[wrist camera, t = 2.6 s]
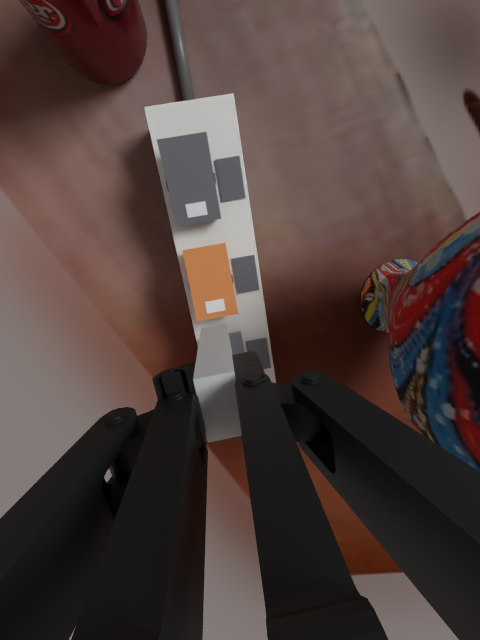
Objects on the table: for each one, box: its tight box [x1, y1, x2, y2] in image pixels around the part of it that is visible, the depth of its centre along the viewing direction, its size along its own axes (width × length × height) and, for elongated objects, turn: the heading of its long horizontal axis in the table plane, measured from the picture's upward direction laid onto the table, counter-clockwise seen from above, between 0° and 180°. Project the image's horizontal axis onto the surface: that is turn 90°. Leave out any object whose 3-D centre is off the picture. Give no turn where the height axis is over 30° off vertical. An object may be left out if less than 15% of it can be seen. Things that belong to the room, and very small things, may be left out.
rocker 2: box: [228, 331, 245, 355], centre depth 26 cm, size 6×4×1 cm, turn 9°
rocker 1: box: [157, 132, 221, 226], centre depth 22 cm, size 6×4×1 cm, turn 9°
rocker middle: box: [182, 243, 238, 321], centre depth 24 cm, size 6×4×1 cm, turn 9°
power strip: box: [144, 0, 276, 383], centre depth 26 cm, size 40×7×5 cm, turn 9°
